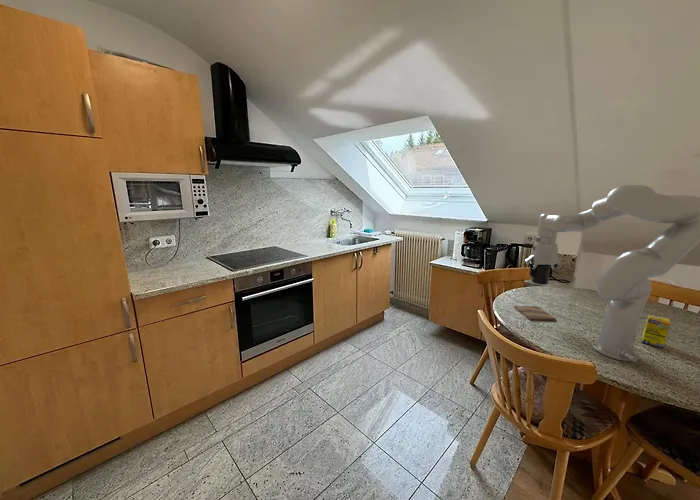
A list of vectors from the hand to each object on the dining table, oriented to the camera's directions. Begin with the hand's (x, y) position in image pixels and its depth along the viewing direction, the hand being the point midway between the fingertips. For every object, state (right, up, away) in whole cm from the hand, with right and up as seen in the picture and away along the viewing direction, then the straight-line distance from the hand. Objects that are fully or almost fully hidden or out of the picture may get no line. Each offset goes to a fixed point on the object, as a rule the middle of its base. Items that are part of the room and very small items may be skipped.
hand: (540, 276), depth 134 cm
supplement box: (+31, -25, -21) cm, 45 cm away
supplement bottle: (0, -3, +1) cm, 3 cm away
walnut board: (0, -19, +5) cm, 20 cm away
